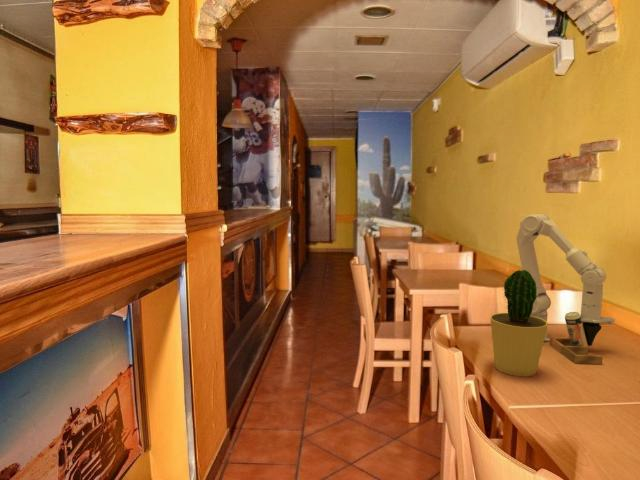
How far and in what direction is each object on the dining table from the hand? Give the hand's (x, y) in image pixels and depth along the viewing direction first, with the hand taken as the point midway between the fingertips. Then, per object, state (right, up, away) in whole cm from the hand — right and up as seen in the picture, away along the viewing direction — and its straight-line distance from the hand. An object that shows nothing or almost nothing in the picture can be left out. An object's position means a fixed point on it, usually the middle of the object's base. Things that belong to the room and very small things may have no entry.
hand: (588, 344), depth 152 cm
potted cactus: (-31, -3, -16) cm, 35 cm away
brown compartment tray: (-6, -2, -3) cm, 8 cm away
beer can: (-3, -1, 0) cm, 3 cm away
